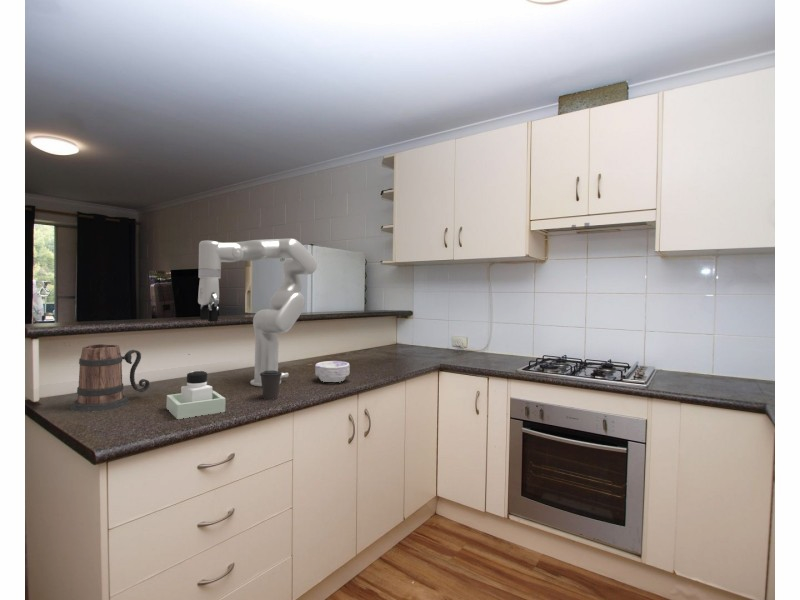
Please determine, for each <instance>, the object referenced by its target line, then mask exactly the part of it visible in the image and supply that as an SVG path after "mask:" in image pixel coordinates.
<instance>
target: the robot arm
mask: <svg viewBox="0 0 800 600" xmlns="http://www.w3.org/2000/svg"><path fill="white" fill-rule="evenodd" d="M279 259H281V260H282V259H284V261H283V265H282V268H283V273H284V274H283V275H284V279H283V282H282V283H281V285H280V286H279V287H278V289H276V291H275V293H273V296H272V297H271V298H270V301H269V306H270V308H271V309H267V308H265V309H260V310H258V311H256V313H255V314H254V316H253V320H252V326H253V331H254V343H255V344H254V377H253V379H251V380H250V382H249V383H250V385H251V386H254V387H255V386H256V387H262V383H261V376H260V373H262V372H264V371H278V372H279V338H278V334H285V333H287V332H289V331H290V330H291V329H292V327H293V326H294V325H295V323H296V322H297V320H298V319H299V317H300V315H301V314H302V313H303V311H304V309H305V304H306V299H305V296H304V295H303V294H302V293H301V290H302V287H303V283H302V279H301V275H311V274H313V273H315V271H316V270H317V268H318V267H317V266H318V265H317V260H316V258H315V257H314V255H313V254H311V252H310V251H309V250H308V249H307V248H306V247H305V246H304V245H303V244H302V243H301V242H300V241H299V240H297V239H296V238H292V237H291V238H271V239H270V238H269V239H252V240H245V241H235V242H233V241H232V242H230V241H229V242H220V241H217V240H216V241H215V240H209V239H207V240H201V241H200V242H199V244H198V278H199V285H198V296H197V303H198V304H199V305H200V315H199V316H200V321H201V320H204V321H205V320H208V322H209V323H211V322H212V323H214V322H217V323H218V322H219V303H220V283H219V282H220V281H219V280H220V279H221V277H222V276H221V275H222V274H221V270H222V269H221V268H222V263H235V262H240V261H247V262H248V261H251V262H253V261H255V262H256V261H269V260H279ZM281 373H282V375H281V377H280V384H281V383H282V379H283V378H289V375H290V374H289V372H281Z"/></svg>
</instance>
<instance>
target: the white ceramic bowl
mask: <svg viewBox="0 0 800 600" xmlns="http://www.w3.org/2000/svg"><path fill="white" fill-rule="evenodd" d="M314 367H315V368H314V369H315V370H314V371H315V372H314V374H315V377H318V378H319V380H320V381H321V382H322V381H323V382H322V383H324V382H339V383H342V382H343V381H345V379H346V377H347V376H349V375H350V372H351V371H350V367H351V366H350V363H349V362H347V361H343V360H342V361H341V360H340V361H339V360H328V361H327V360H326V361H320V362H317V363H315V365H314ZM341 381H342V382H341Z"/></svg>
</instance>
